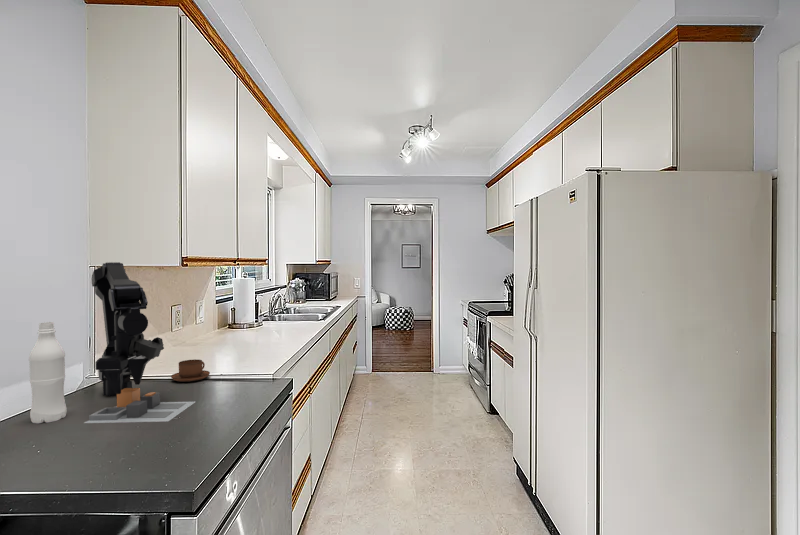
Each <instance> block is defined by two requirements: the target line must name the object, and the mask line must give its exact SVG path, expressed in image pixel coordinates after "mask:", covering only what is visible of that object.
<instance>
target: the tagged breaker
mask: <svg viewBox="0 0 800 535" xmlns="http://www.w3.org/2000/svg"><path fill="white" fill-rule="evenodd" d="M140 401H147V408H154V407H155V406H157V405H159V404H160V402H161V392H155V391H154V392H153V391H151V392H147V393H146V394H144V395H141V396H140Z"/></svg>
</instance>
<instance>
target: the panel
mask: <svg viewBox="0 0 800 535" xmlns="http://www.w3.org/2000/svg"><path fill="white" fill-rule="evenodd" d="M195 403H196V401H160V404H159V405H157V406H155V407H154V408H147V401H141V400H140V401H134V402H132V403H130V404H128V405H126V407H117V405H116V406H115V405H114V406H113V407H112V406H111V407H110V406H108V407H106V406H105V407H103V408H101V409H99V410H98V411H95V412H94V413H92V414H89V415H88V419H89V420H86V421H84V424H107V423H109V424H112V423H156V422H157V423H158V422H159V423H160V422H166V423H167V422H170V421H171V420H172V419H174V418H175V417H177V416H178V415H179V414H181V413H183V412H184V411H186V409H189V407H191V406H192V405H194V404H195Z"/></svg>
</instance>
